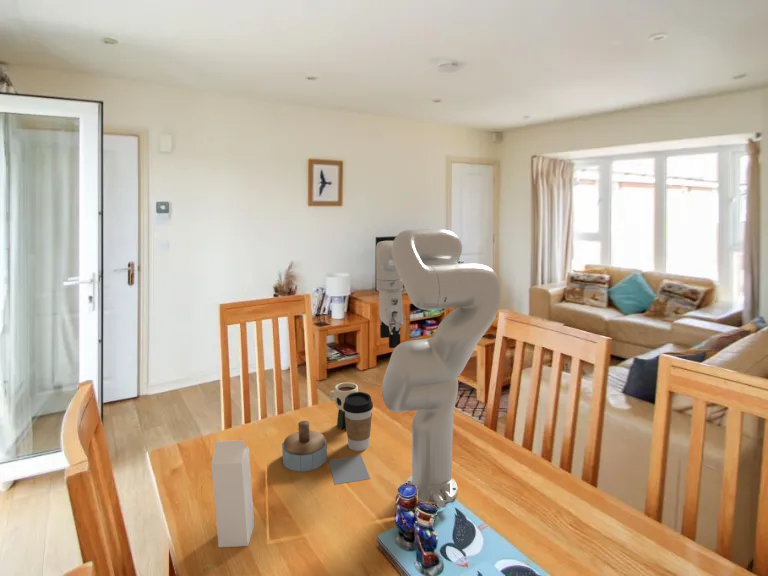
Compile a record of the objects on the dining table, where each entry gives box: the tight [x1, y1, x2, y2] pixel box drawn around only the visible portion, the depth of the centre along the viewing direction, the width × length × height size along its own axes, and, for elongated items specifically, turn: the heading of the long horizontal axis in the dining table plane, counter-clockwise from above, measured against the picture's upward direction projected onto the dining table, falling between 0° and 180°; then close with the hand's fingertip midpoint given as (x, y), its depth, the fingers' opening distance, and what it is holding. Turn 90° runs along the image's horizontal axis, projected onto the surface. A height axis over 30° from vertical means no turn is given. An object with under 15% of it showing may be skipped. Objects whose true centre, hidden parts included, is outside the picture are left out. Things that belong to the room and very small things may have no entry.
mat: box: [328, 455, 371, 485], centre depth 120 cm, size 11×9×1 cm
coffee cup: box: [343, 391, 374, 452], centre depth 131 cm, size 8×8×15 cm
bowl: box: [281, 439, 328, 472], centre depth 125 cm, size 12×12×5 cm
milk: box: [210, 439, 255, 548], centre depth 95 cm, size 6×6×22 cm
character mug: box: [329, 382, 359, 430], centre depth 143 cm, size 11×7×13 cm, turn 76°
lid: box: [283, 420, 326, 455], centre depth 124 cm, size 11×11×6 cm
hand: (389, 342), depth 135 cm, fingers open, 9 cm apart
